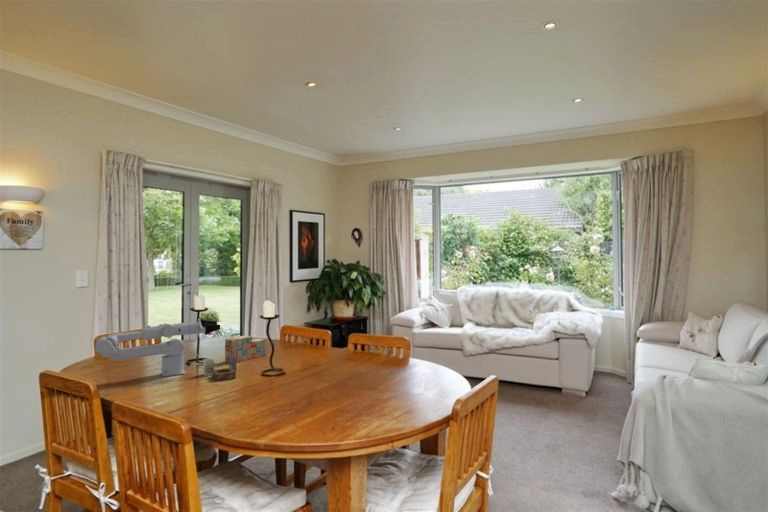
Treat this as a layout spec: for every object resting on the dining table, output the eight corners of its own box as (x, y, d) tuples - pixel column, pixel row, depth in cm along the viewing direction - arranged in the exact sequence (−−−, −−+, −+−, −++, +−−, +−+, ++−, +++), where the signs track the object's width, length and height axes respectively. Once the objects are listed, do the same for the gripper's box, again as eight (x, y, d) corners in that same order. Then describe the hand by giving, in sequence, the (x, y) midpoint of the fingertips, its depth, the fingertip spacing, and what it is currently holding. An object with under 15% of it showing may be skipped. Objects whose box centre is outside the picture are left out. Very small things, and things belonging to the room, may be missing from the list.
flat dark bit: (232, 372, 205) (232, 358, 205) (229, 370, 210) (229, 355, 210) (236, 372, 206) (236, 357, 206) (233, 369, 211) (233, 355, 211)
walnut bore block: (216, 381, 192) (216, 374, 192) (212, 376, 199) (212, 370, 199) (235, 378, 196) (235, 371, 196) (231, 373, 203) (231, 367, 203)
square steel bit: (204, 376, 200) (204, 361, 200) (203, 374, 203) (203, 359, 203) (213, 374, 202) (213, 359, 202) (212, 372, 205) (212, 358, 205)
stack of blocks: (258, 354, 244) (258, 332, 244) (265, 356, 240) (265, 334, 240) (224, 361, 227) (225, 338, 227) (231, 363, 223) (232, 340, 223)
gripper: (190, 323, 200) (221, 320, 208) (186, 317, 213) (215, 314, 220) (190, 338, 201) (221, 334, 208) (186, 331, 213) (215, 328, 220)
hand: (218, 325), depth 214 cm, fingers open, 7 cm apart
